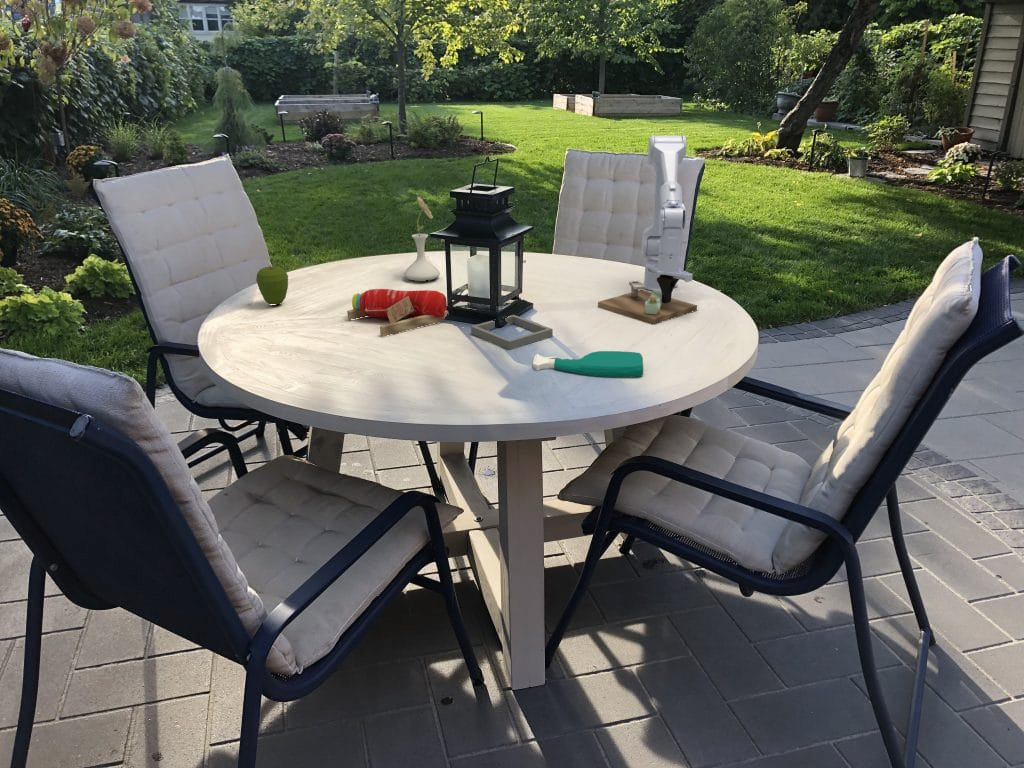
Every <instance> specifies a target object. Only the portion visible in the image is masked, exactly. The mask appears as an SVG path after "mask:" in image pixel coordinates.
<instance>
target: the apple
mask: <svg viewBox="0 0 1024 768" xmlns="http://www.w3.org/2000/svg"><path fill="white" fill-rule="evenodd" d="M255 280H256V285H257V287H258V290H259V292H260V294H261V295H262V298H263V300H264V301H265V302H266V303H267V304H268V305H269V304H280V303H281V304H282V303H283V302H284V301H285V299H286V297H287V292H288V289H289V275H288V273H287V271H286V270H285V269H284V268H282V267H281V266H271V265H269V266H265V267H262V268H260V269H259V270H258V271H257V273H256V278H255ZM281 304H280V305H281Z"/></svg>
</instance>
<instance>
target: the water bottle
mask: <svg viewBox="0 0 1024 768" xmlns="http://www.w3.org/2000/svg"><path fill="white" fill-rule="evenodd" d="M352 296H353V297H352V300H351V306H352V310H353V309H356V310H357V309H359V310H361V311H362V312H363V313H365V314H366V315H368V316H370V317H372V318H378V319H379V318H380V319H381V318H383V319H388V320H389V322H390V323H394V322H398V321H402V320H405V318H406V319H410V318H414V317H418V316H422V315H433V316H434V317H443V316H444V312H445V311H446V310H447V307H448V303H447V297H446V295H445V294H444V293H442V292H439V291H437V290H428V289H427V290H426V289H424V290H421V289H420V290H398V289H390V288H372V289H368V290H366V291H364V292H362V293H361V294H360V293H359V292H358V293H354V294H353V295H352ZM390 323H389V324H390Z"/></svg>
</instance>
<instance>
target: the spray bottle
mask: <svg viewBox="0 0 1024 768" xmlns="http://www.w3.org/2000/svg"><path fill="white" fill-rule="evenodd" d="M643 360H644V357H643V356H642V354H641V353H640V352H635V351H618V350H617V351H616V350H598V351H593V352H590V353H588V354H585V355H584V356H582V357H581V358H579V359H576V358H572V359H570V358H559V357H558V356H557V355H555V356H549V357H548V356H547V357H545V356H543V355H540V354H539V353H536V354H535V356H534V357H533V362H532V368H534V369H535V370H536V371H539V370H544V369H545V370H547V369H554V370H557V371H562V372H568V373H572V374H577V375H581V376H591V377H599V378H601V377H602V378H640V377H643V375H644V361H643Z"/></svg>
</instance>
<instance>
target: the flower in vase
mask: <svg viewBox="0 0 1024 768" xmlns="http://www.w3.org/2000/svg"><path fill="white" fill-rule="evenodd" d="M416 199H417V202H418V204H419V206H420V207H421V210H420V212H419V214H418V217H417V220H416V221H415V222H416V225H417V229H416V232H417V231H418V233H414V234H412V235H411V237H412V239H413V240H414V243H415V245H416V252H417V253H416V254H417V256H416V258H415V260H414V261H413V262H412V263H411V264H410V265H409V266H408V267H407V268H406V269H405V271H404V272H403V277H405V279H407V280H410V281H413V280H414V281H415V282H427V281H426V280H428V281H432V280H435V279H436V278H438V277H439V276H440V274H441V271H440V270H439V269H438V268H437V267H436V266H435V265H434V264H432V263H431V262H430V261H428V260H427V258H426V255H425V254H426V253H425V246H426V245H425V243H426V240H427V238H428V237H429V234H428V233H420V231H421V230H423V228H425V226H424V225H422V224H421V225H420V224H419V221H420V217H421V215H422V213H424V214H425V215H426V216H427V217H428V218H429V219H430V220H432V219H433V218H434V216H433V213H432V212H431V211H430V209H429V208H428V207H429V206H428V205H427V203H425V202H424V199H423V198H421V197H420V196H417V198H416ZM414 281H413V282H414Z"/></svg>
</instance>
